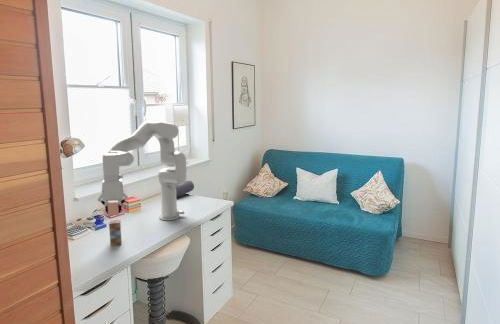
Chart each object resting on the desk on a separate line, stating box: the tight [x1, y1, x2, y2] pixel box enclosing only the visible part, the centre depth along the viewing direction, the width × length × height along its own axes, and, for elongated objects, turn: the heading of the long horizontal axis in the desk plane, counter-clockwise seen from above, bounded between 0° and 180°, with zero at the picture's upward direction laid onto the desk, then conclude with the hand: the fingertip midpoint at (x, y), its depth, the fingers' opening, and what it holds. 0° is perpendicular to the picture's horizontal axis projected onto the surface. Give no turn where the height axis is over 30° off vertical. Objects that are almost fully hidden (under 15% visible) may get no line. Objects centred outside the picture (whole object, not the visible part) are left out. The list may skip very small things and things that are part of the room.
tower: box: [108, 219, 123, 247], centre depth 187 cm, size 5×5×12 cm
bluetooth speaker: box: [175, 180, 195, 198], centre depth 279 cm, size 23×9×10 cm, turn 149°
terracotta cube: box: [107, 200, 120, 216], centre depth 185 cm, size 5×5×6 cm
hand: (113, 212), depth 185 cm, fingers closed on terracotta cube, 4 cm apart
